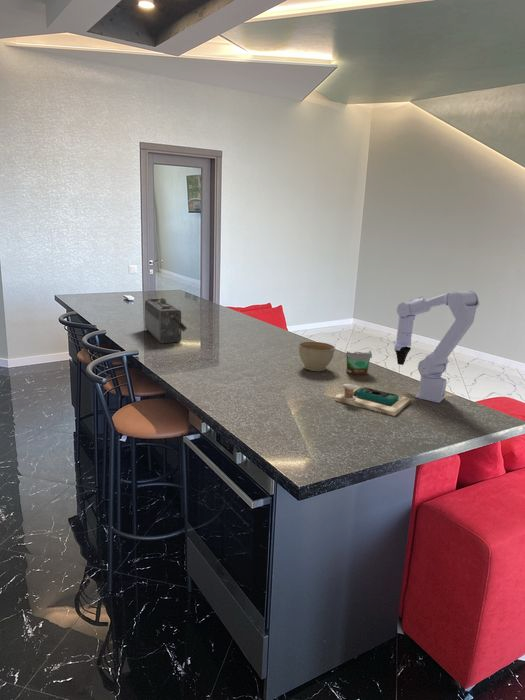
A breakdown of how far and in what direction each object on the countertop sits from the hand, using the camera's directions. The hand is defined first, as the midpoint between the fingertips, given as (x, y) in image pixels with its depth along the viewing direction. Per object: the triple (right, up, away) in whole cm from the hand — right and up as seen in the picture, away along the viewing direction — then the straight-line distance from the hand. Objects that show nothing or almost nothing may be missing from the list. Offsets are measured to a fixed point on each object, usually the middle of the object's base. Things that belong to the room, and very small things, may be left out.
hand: (400, 364), depth 198 cm
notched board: (-15, -13, -17) cm, 27 cm away
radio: (-111, +13, +70) cm, 132 cm away
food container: (-14, -5, +16) cm, 22 cm away
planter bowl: (-33, -3, +21) cm, 39 cm away
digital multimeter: (-13, -13, -14) cm, 23 cm away
